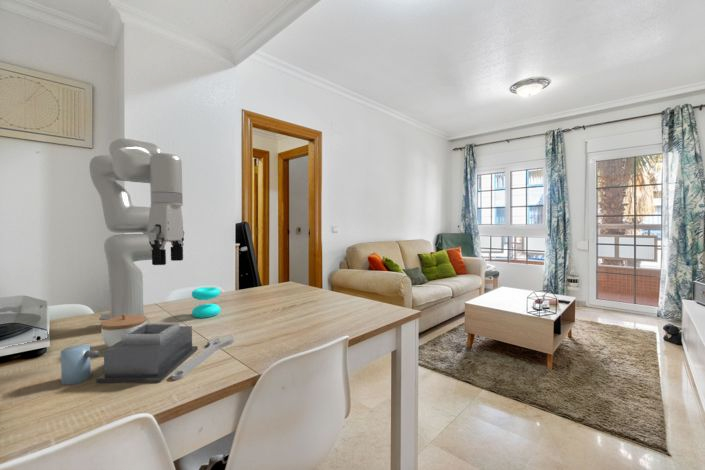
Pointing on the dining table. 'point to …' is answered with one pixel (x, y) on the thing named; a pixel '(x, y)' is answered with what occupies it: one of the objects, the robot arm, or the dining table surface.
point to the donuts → (206, 309)
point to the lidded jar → (120, 327)
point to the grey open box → (147, 353)
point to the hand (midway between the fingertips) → (168, 262)
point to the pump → (76, 364)
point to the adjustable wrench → (202, 356)
